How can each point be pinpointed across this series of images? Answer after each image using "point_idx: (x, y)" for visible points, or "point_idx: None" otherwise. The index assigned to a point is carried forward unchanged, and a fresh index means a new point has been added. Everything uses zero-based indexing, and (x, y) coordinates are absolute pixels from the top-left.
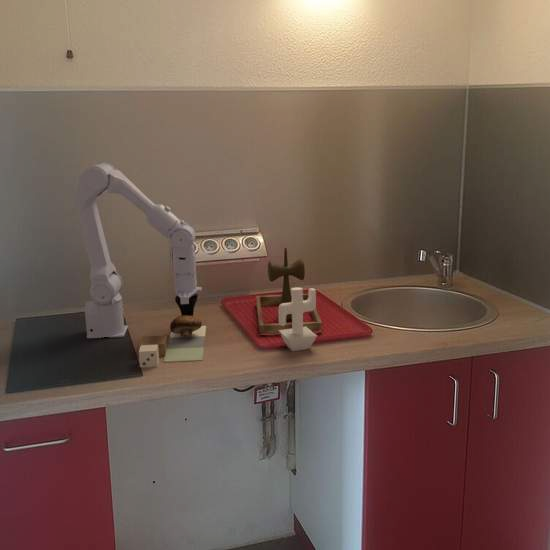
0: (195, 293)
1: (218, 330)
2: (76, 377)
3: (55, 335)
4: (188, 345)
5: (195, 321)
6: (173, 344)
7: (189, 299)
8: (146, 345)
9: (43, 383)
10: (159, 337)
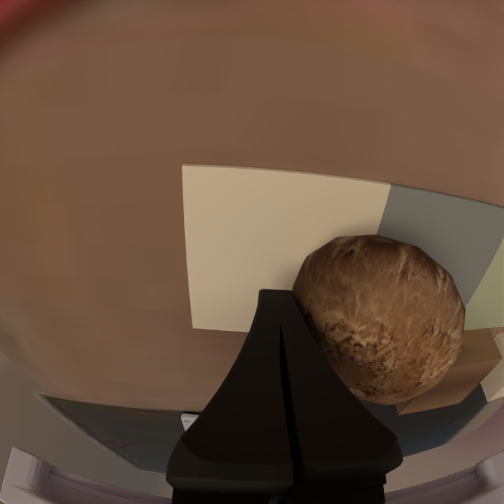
0: (174, 481)
1: (285, 80)
2: (457, 417)
3: None
4: (467, 268)
5: (460, 310)
6: None
7: (385, 481)
8: (499, 392)
9: (445, 434)
10: (442, 381)
